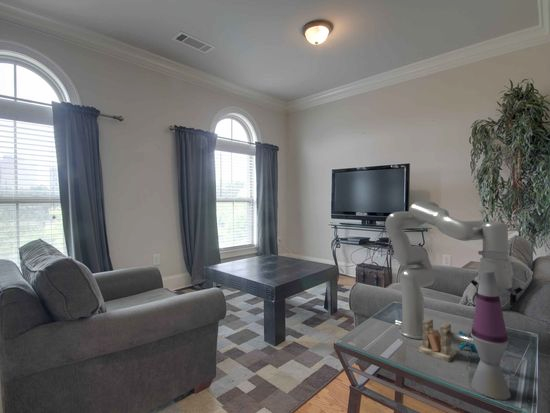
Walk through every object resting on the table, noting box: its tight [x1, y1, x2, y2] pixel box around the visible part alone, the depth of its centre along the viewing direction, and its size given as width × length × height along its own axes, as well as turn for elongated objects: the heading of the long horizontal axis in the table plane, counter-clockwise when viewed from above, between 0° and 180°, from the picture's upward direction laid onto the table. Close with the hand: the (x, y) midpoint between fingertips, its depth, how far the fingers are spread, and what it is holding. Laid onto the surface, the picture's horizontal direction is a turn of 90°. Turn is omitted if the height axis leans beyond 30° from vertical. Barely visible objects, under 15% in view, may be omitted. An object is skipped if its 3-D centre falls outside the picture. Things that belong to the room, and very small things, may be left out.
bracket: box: [417, 317, 458, 363], centre depth 123 cm, size 12×10×12 cm
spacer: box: [428, 329, 441, 351], centre depth 123 cm, size 2×6×6 cm, turn 132°
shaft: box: [447, 331, 475, 345], centre depth 113 cm, size 19×3×9 cm, turn 42°
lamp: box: [470, 270, 512, 401], centre depth 98 cm, size 11×11×40 cm
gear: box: [458, 330, 478, 354], centre depth 125 cm, size 11×6×10 cm
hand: (495, 301), depth 108 cm, fingers open, 9 cm apart
